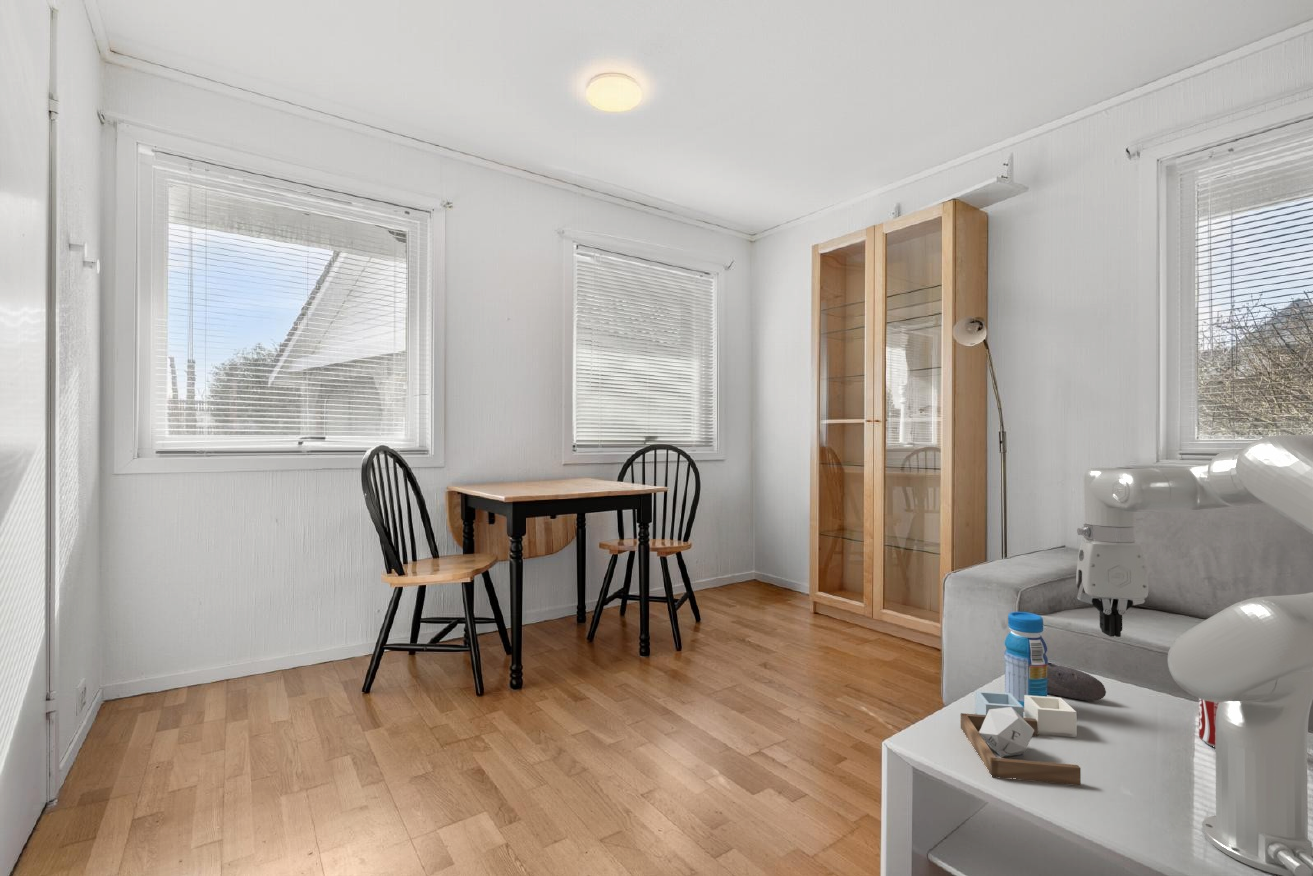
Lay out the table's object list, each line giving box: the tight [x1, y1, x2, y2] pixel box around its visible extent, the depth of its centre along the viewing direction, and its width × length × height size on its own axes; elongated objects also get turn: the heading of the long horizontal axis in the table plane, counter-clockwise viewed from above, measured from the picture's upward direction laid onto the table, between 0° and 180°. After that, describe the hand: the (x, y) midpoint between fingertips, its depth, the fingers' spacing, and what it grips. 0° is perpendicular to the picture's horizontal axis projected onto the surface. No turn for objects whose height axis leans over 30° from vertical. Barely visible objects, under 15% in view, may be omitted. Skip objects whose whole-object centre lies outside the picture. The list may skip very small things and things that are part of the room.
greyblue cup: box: [974, 690, 1024, 718], centre depth 129 cm, size 7×7×5 cm
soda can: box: [1198, 698, 1219, 748], centre depth 120 cm, size 7×7×12 cm
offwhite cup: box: [1023, 695, 1078, 738], centre depth 127 cm, size 7×7×5 cm
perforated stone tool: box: [1047, 661, 1107, 702], centre depth 143 cm, size 15×5×7 cm, turn 50°
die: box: [978, 707, 1034, 758], centre depth 117 cm, size 8×9×10 cm
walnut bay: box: [960, 712, 1082, 787], centre depth 117 cm, size 19×14×3 cm
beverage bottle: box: [1003, 611, 1049, 711], centre depth 138 cm, size 8×8×20 cm
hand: (1111, 634), depth 114 cm, fingers closed
